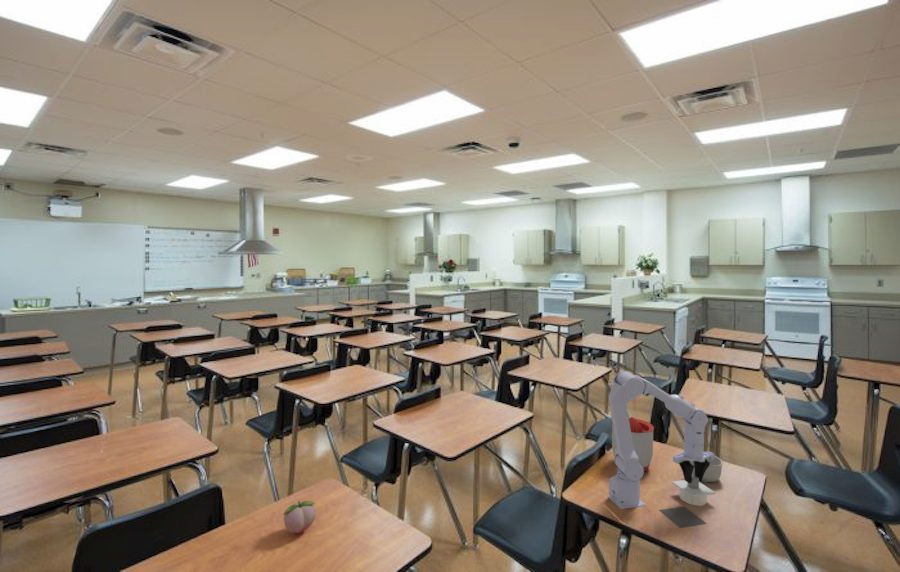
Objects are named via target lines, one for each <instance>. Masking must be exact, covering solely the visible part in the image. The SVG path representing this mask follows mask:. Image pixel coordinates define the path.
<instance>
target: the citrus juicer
mask: <svg viewBox="0 0 900 572" xmlns="http://www.w3.org/2000/svg"><path fill="white" fill-rule="evenodd" d="M628 418H629V424H630V429H631V435H632V440H633V446H634V450H635V452H636V454H637V456H638V458H639V463H640V464H641V466H642V467H643V469H644V472H646V471H647V470H649V467H650V466H651V462H652V460H653V453H654V430H655V427H654V425H653V424H651V423H650V422H648V421H645V420H642V419H639V418H635V417H633V416H631V417H628ZM611 427H612V429H611V444H612V445H611V446H612V447H611V448H612V453H613V456H614V458H615V454H616V453H615V449H616V448H617V443H616V437H615V432H614V426H613V421H612V420H611ZM614 458H613V459H614Z"/></svg>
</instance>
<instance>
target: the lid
mask: <svg viewBox="0 0 900 572" xmlns="http://www.w3.org/2000/svg"><path fill="white" fill-rule="evenodd" d="M671 484H672V485H674V486H675V487H676V488H678V490H679V489H681V490H682V491H684V492H685V493H686V494H688V495H689V496H691V497H696V496H704V495H707V496H710V495H715V494H716V492H715V491H714V490H713V489H710V488H709V487H708V486H706V485H704V484H703V483H702V482H699V478H698V477H696V476H695V475H692V481H691V483H688V482H686V481H685V479H683V480H681V479H680V480H676V481H675V480H674V481H673V480H672V481H671Z"/></svg>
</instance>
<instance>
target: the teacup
mask: <svg viewBox="0 0 900 572" xmlns="http://www.w3.org/2000/svg"><path fill="white" fill-rule="evenodd" d="M707 461H708V462H710V466H709V467H708V468H707V470H706V471H705V473H704V476H703V479H702V482H705V483H714V482H717V481H718V480H719V479H720V478H721V475H722V468H723V461H722V459H721V458H719V457H718V456H716V455H714V459H712V460H711V459H707ZM690 463H691V464H692V465H693V466H694V462H693V461H690ZM692 475H695V467H694V469H693V472H692Z"/></svg>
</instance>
